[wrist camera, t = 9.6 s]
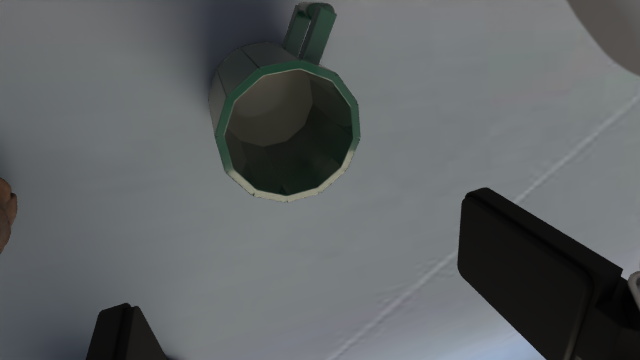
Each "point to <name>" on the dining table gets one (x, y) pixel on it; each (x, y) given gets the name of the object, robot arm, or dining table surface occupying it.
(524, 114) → the dining table surface
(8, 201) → the broken pottery
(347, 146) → the green mug
